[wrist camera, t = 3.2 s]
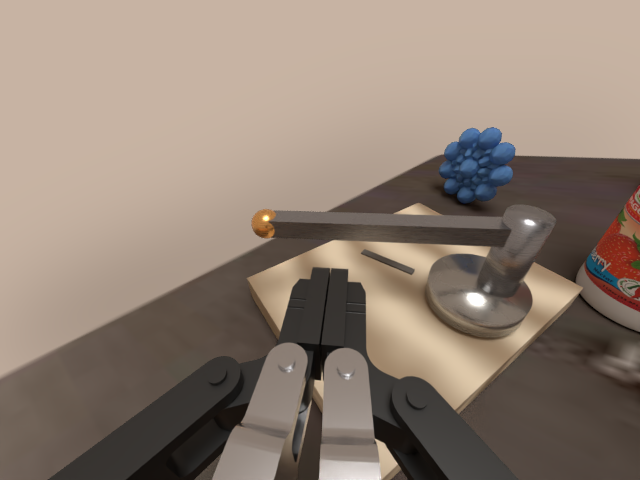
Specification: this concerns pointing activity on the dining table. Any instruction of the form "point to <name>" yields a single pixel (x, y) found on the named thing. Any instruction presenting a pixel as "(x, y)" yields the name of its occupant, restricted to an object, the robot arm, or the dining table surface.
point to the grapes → (477, 165)
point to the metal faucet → (449, 271)
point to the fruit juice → (616, 269)
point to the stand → (415, 316)
